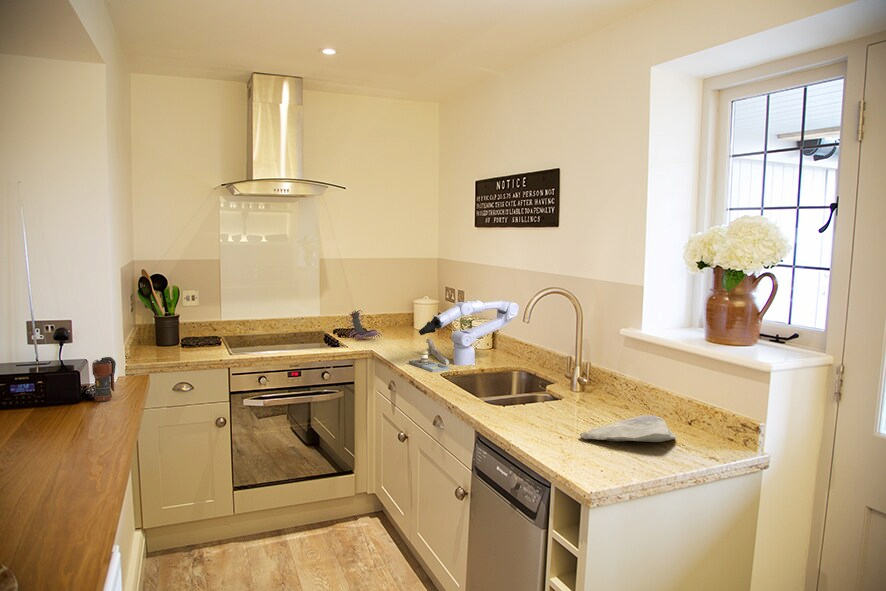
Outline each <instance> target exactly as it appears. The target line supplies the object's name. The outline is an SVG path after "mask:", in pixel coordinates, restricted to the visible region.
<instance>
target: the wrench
mask: <svg viewBox="0 0 886 591" xmlns="http://www.w3.org/2000/svg"><path fill="white" fill-rule="evenodd" d="M425 343H427V346H428V348H427V349H426V351H428V356H430V355H431V356H432V355H433V356H434V357H435V358H436V359H437V360H438V361H439V362H441V363H443V365H445V366H449V365H450V360H449V359H448V358H447V357H446V356H444V354H443V353H441V352H440V351H439V350H438V348H436V346H435V344H434V341H433V339H432V338H427V339H426V341H425Z"/></svg>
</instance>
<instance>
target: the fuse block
mask: <svg viewBox="0 0 886 591" xmlns="http://www.w3.org/2000/svg"><path fill="white" fill-rule="evenodd" d="M408 364H409V365H412V366H415V367H416V368H419V369H423V368H422V365H428V364H436V363H435V362H433V361H430V360H428V364H421V359H413V360H408Z"/></svg>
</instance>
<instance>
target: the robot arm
mask: <svg viewBox="0 0 886 591" xmlns="http://www.w3.org/2000/svg"><path fill="white" fill-rule="evenodd" d="M484 310H485V311H488V310H496V318H494V319H491V320H489V321H486V322H484V323H482V324H479V325H477V326H475V327H472V328H469V329H463V330H455V331H452V332H453V333H452V334H451V337H450V338H451V342H452V343H453V359H452V360H453V365H455V366H461V367H465V366H473V365H475V366H476V364H475V361H476V360H475V357H476V353H475V352H476V351H475V349H474V347H473V346H472V344H473V343H476V340H477V339H479V338H482V337H483V336H486V335H488V334H490V333H493V332H495V331H498V330H499V329H503V328H506V326H508V324H509V323H510V322H511V321H512V320H513V319H514V318H516V317H517V316H518V314H519V310H520V307H519V304H518V303H516V302H512V301H507V300H494V301H493V300H492V301H487V302H486V301H485V302H483V301H482V300H479V299H474V300H473V301H469V300H466V301H465V302H463V301H457V302H456V303H455V304H454V306H453V307H450V308H448V309H447V310H445V311H444V312H441V313H440V314H438V315H436V314H433V315H432V317H433V318H432V319H431V320H428V321H427V322H426V324H425V325H424V326H423V327H422V328H420V329H419V330H418V333H419V335H420V336H424V335H426V334H431V333H436V332H437V331H436V329H439V330H441V329H443V328H444V327H446V326H447V325H450V324H451V323H453V322H454V321H457V320H458V319H460V318H462V317H463V316H467V317H468V316H469V315H472V314H473V315H475V314H481V313H482V312H484Z"/></svg>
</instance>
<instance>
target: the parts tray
mask: <svg viewBox="0 0 886 591" xmlns="http://www.w3.org/2000/svg"><path fill="white" fill-rule="evenodd" d="M434 367H435V368H434ZM437 367H438V368H437ZM450 368H451V367H450V366H449V365H446V364H442V363H440V362H438V363H435V364H428V365H422V368H421V369H423V370H425V371H429V372H432V373H436V372H444V371H450Z"/></svg>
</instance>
